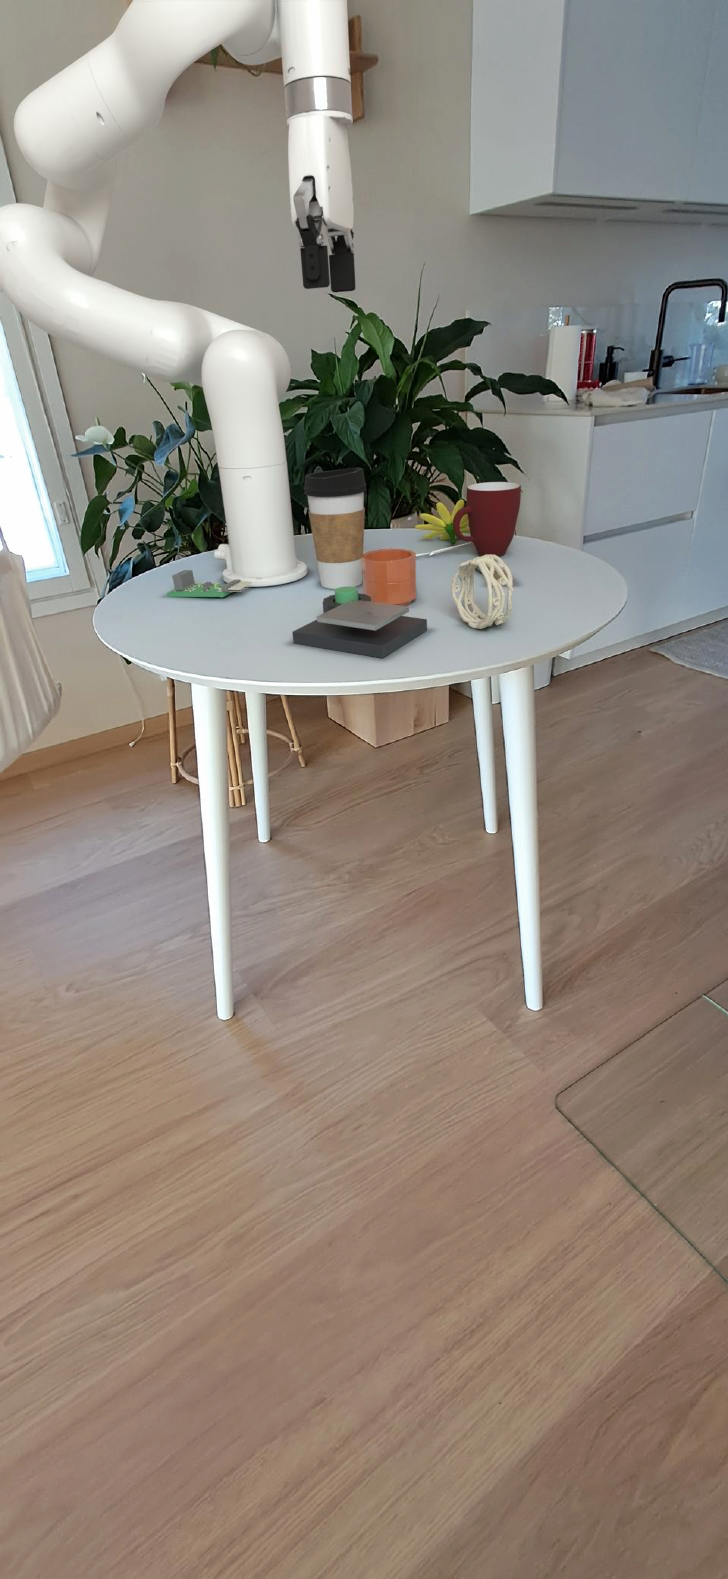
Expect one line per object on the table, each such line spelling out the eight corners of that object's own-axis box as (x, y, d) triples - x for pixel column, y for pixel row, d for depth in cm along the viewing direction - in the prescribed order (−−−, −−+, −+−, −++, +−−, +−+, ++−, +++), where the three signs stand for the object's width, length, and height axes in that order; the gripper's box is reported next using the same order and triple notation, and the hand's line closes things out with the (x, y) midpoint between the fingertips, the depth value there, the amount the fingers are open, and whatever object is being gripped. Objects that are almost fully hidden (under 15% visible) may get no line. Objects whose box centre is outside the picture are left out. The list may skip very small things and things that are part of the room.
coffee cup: (364, 592, 104) (358, 474, 96) (305, 591, 105) (294, 476, 98) (376, 575, 111) (371, 465, 103) (320, 575, 113) (311, 466, 105)
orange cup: (354, 606, 98) (351, 559, 95) (381, 592, 103) (379, 546, 100) (399, 612, 95) (398, 563, 92) (425, 597, 100) (425, 550, 97)
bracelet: (473, 615, 93) (474, 547, 89) (517, 631, 87) (520, 560, 83) (446, 621, 91) (447, 553, 87) (489, 638, 85) (491, 566, 81)
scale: (287, 642, 87) (284, 616, 86) (341, 614, 95) (340, 590, 94) (382, 658, 81) (381, 631, 80) (432, 627, 89) (432, 602, 88)
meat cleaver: (527, 579, 103) (495, 584, 102) (526, 587, 104) (494, 592, 102) (484, 555, 112) (454, 559, 111) (484, 563, 113) (454, 567, 111)
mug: (470, 566, 113) (471, 495, 108) (442, 555, 119) (442, 488, 114) (528, 555, 117) (532, 486, 112) (498, 546, 123) (500, 480, 118)
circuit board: (253, 567, 106) (235, 577, 102) (257, 590, 107) (239, 600, 103) (182, 568, 110) (163, 577, 106) (187, 590, 111) (168, 599, 107)
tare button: (330, 604, 90) (329, 591, 90) (343, 598, 92) (342, 585, 92) (350, 607, 89) (349, 593, 88) (363, 600, 91) (362, 587, 90)
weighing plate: (316, 622, 84) (316, 616, 83) (352, 604, 89) (352, 599, 88) (375, 630, 80) (375, 625, 80) (409, 611, 85) (409, 606, 85)
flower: (439, 492, 118) (501, 511, 123) (402, 532, 128) (461, 548, 133) (442, 515, 117) (504, 533, 122) (403, 553, 126) (463, 569, 132)
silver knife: (476, 542, 124) (369, 563, 118) (477, 536, 123) (369, 556, 118) (489, 548, 121) (380, 570, 115) (489, 542, 120) (380, 563, 115)
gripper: (315, 130, 94) (326, 295, 103) (256, 95, 80) (275, 289, 88) (373, 121, 92) (379, 290, 100) (323, 83, 78) (335, 283, 86)
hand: (330, 289), depth 94 cm, fingers open, 9 cm apart
